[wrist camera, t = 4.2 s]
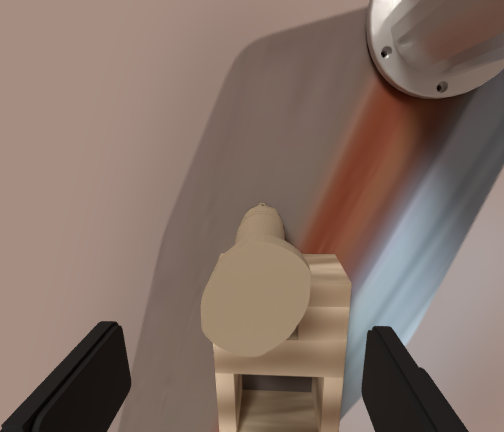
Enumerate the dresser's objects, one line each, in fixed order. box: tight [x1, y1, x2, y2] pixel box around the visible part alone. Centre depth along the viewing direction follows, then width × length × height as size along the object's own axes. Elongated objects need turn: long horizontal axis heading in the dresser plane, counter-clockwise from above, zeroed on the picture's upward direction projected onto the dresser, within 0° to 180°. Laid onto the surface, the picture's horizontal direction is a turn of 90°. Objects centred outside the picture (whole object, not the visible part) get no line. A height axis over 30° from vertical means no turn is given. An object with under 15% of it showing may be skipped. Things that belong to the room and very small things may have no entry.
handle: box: [201, 203, 311, 357], centre depth 20 cm, size 5×6×15 cm
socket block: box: [213, 253, 352, 432], centre depth 28 cm, size 20×12×6 cm, turn 1°
